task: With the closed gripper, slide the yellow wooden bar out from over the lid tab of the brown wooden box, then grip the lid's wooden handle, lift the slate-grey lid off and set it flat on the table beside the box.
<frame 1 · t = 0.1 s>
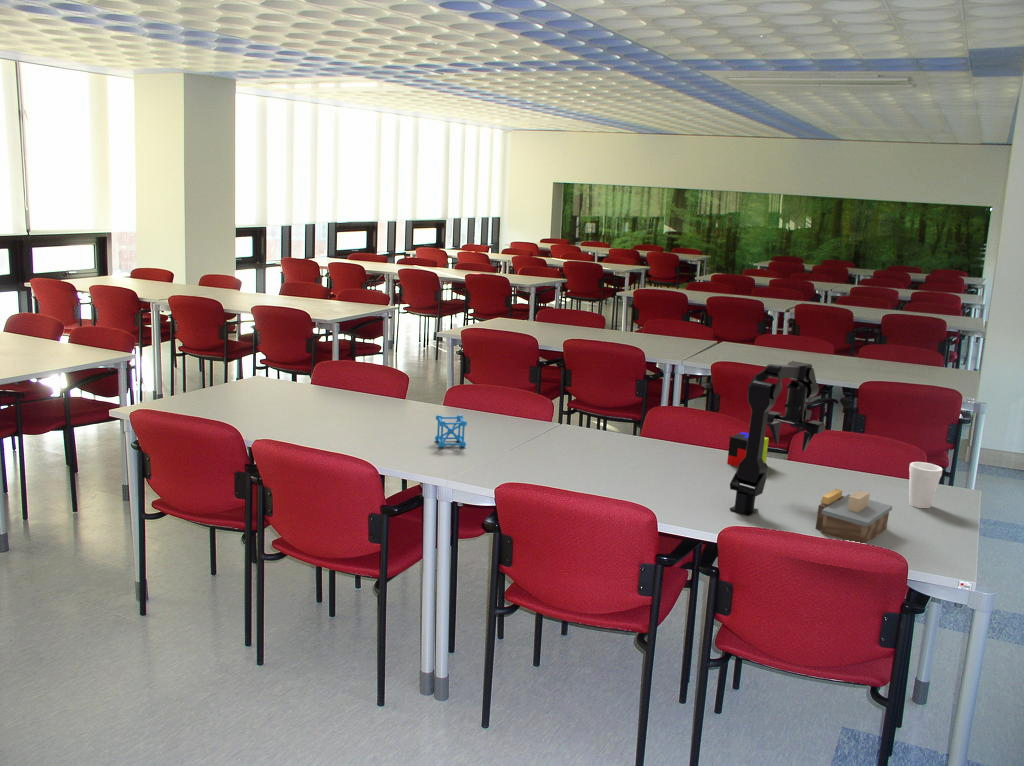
hand: (790, 447, 292), 15 cm above the table, fingers open, 9 cm apart
yellow wooden bar: (832, 496, 266), point 9 cm above the table, slide at 0.0 cm
lid: (857, 511, 261), point 6 cm above the table, touching brown wooden box
puzzle toy: (746, 464, 321), on the table
foam cup: (919, 505, 288), on the table
molecular structure: (450, 444, 325), on the table
brown wooden box: (854, 531, 263), on the table
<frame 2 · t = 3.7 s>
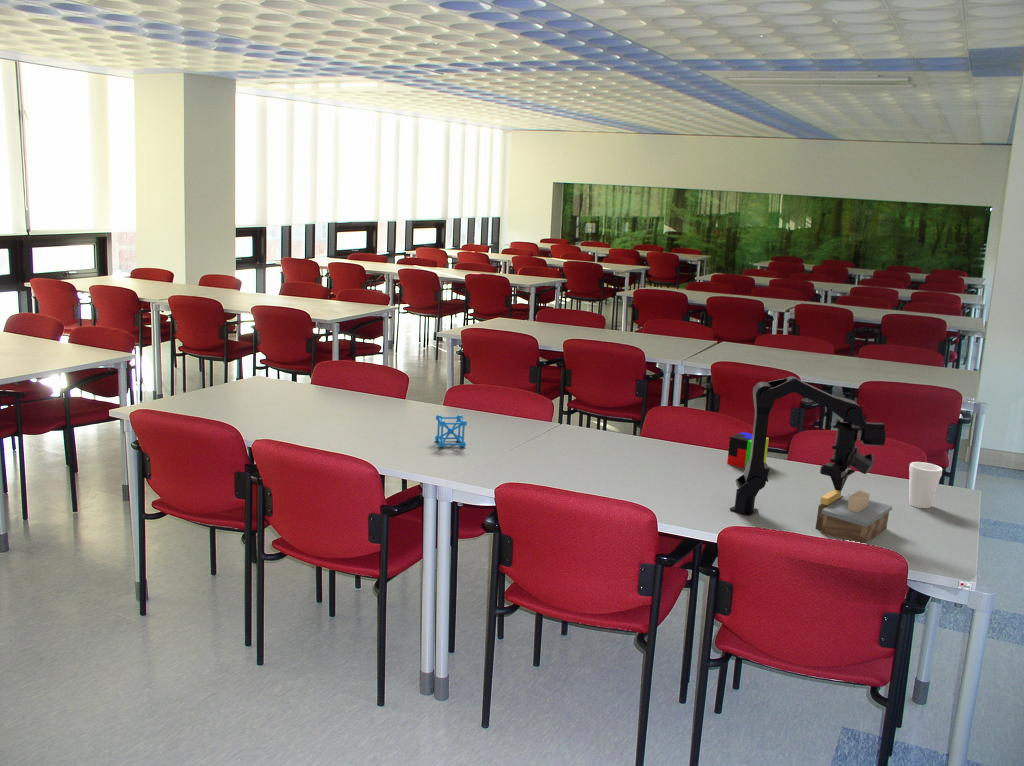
hand: (838, 493, 269), 8 cm above the table, fingers closed
yellow wooden bar: (830, 497, 265), point 8 cm above the table, slide at 0.9 cm, touching gripper
everything else where it was.
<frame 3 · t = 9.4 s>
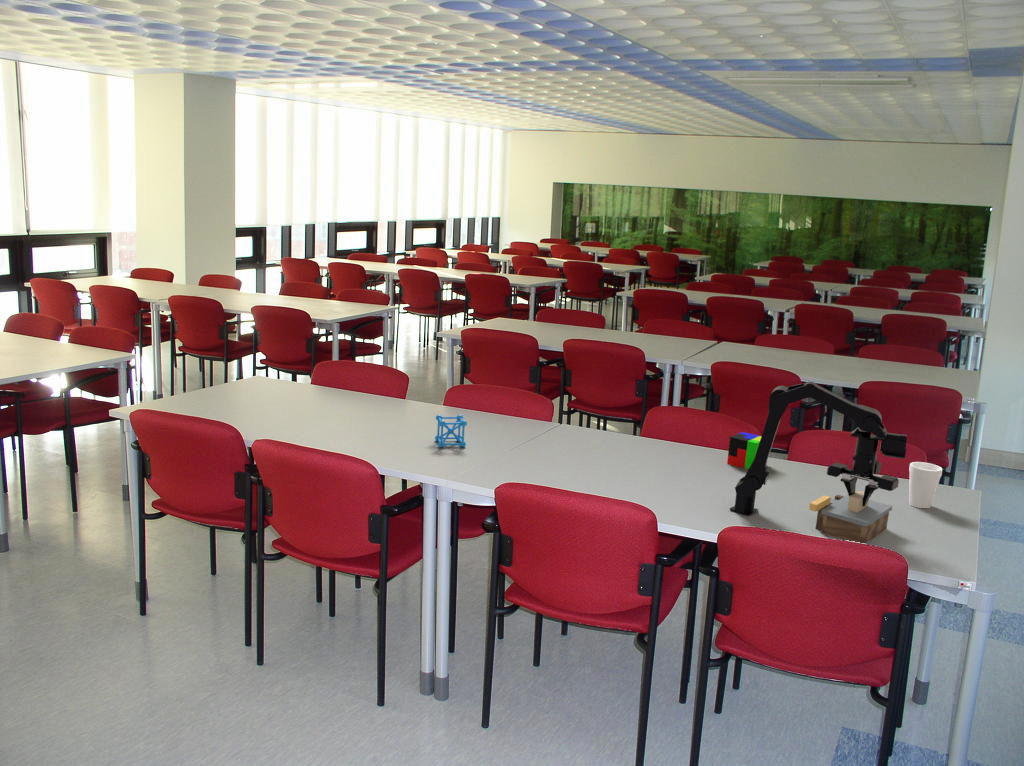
hand: (858, 504, 261), 8 cm above the table, fingers closed on lid, 3 cm apart
yellow wooden bar: (820, 503, 259), point 9 cm above the table, slide at 8.8 cm
lid: (857, 511, 261), point 6 cm above the table, touching gripper, brown wooden box
everything else where it was.
when the fingers open (4 cm above the table, at t = 14.7 s): lid drops 2 cm, on the table.
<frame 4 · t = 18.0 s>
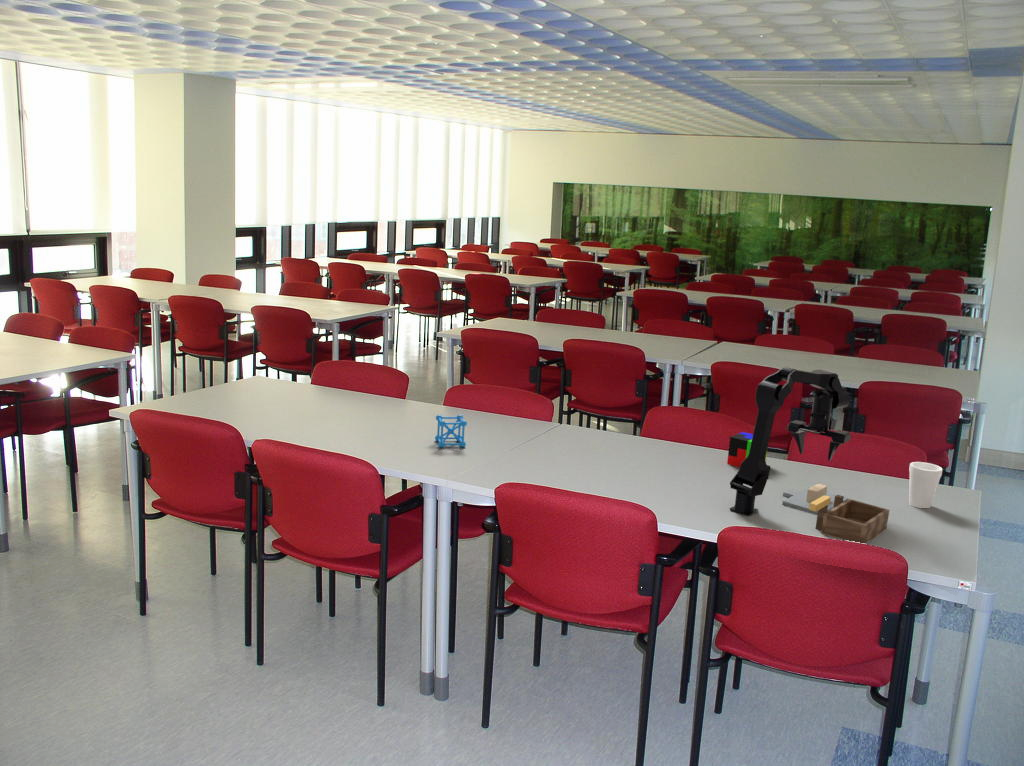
hand: (815, 457, 288), 13 cm above the table, fingers open, 9 cm apart
lid: (815, 503, 285), on the table
everything else where it was.
at the end: yellow wooden bar slide at 8.8 cm; lid inside the target area (0.1 cm from its centre), on the table; lid tilted 1° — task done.
